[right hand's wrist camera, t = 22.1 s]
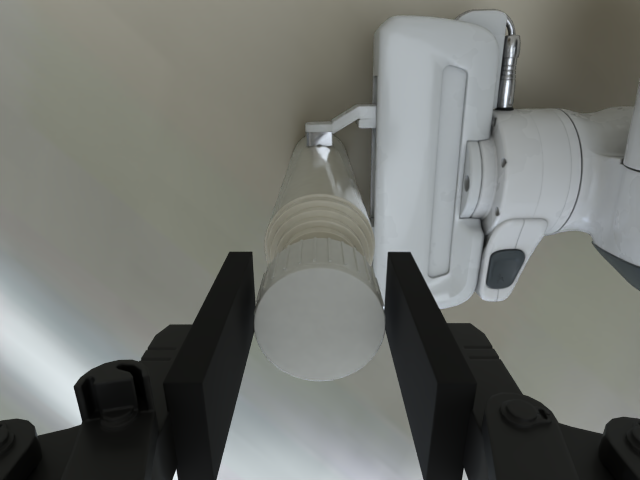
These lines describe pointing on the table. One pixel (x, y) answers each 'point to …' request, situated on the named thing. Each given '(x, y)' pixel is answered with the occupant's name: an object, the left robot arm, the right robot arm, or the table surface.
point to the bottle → (319, 202)
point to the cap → (319, 310)
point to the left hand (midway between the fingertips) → (307, 178)
